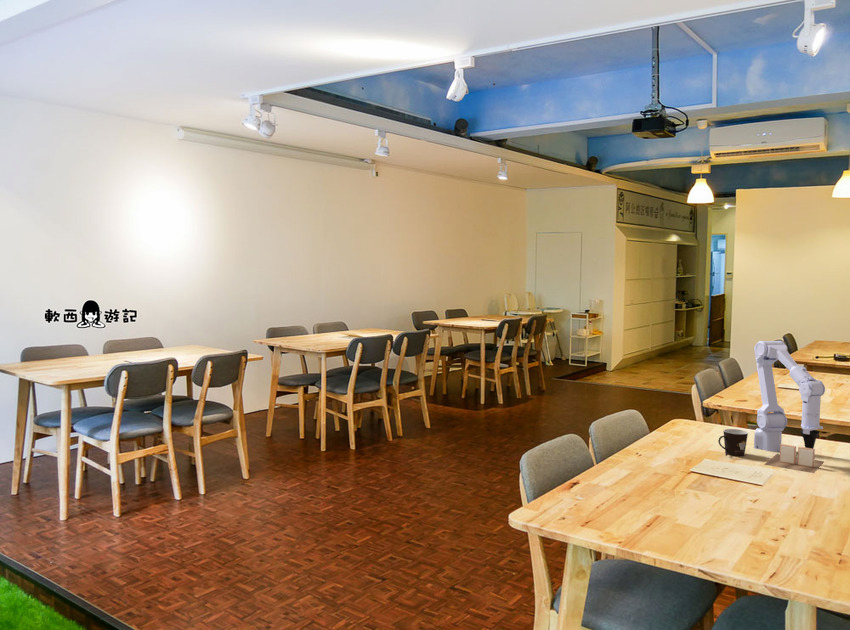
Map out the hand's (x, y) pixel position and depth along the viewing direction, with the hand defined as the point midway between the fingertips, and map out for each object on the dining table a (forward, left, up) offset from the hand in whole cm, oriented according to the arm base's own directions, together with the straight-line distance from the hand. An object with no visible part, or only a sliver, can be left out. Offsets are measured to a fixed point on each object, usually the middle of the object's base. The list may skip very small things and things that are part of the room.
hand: (809, 450), depth 249 cm
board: (-4, -3, -6) cm, 8 cm away
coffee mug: (-26, -6, -6) cm, 27 cm away
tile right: (0, -5, -5) cm, 7 cm away
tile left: (-6, -5, -5) cm, 9 cm away
